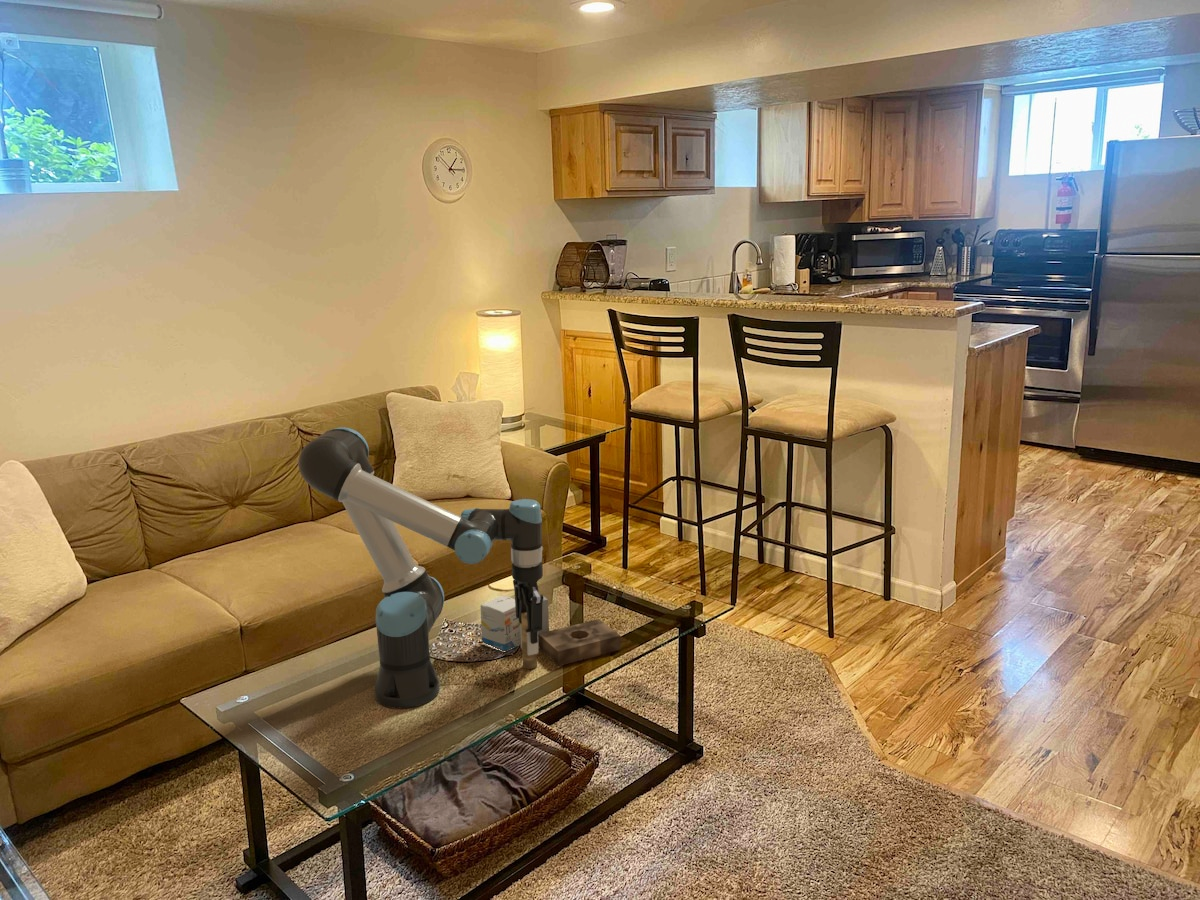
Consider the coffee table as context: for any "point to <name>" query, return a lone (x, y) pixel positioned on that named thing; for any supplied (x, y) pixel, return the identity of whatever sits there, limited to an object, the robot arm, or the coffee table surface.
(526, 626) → the oak dowel
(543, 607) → the square peg
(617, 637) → the socket block
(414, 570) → the robot arm
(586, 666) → the coffee table surface
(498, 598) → the ink box
